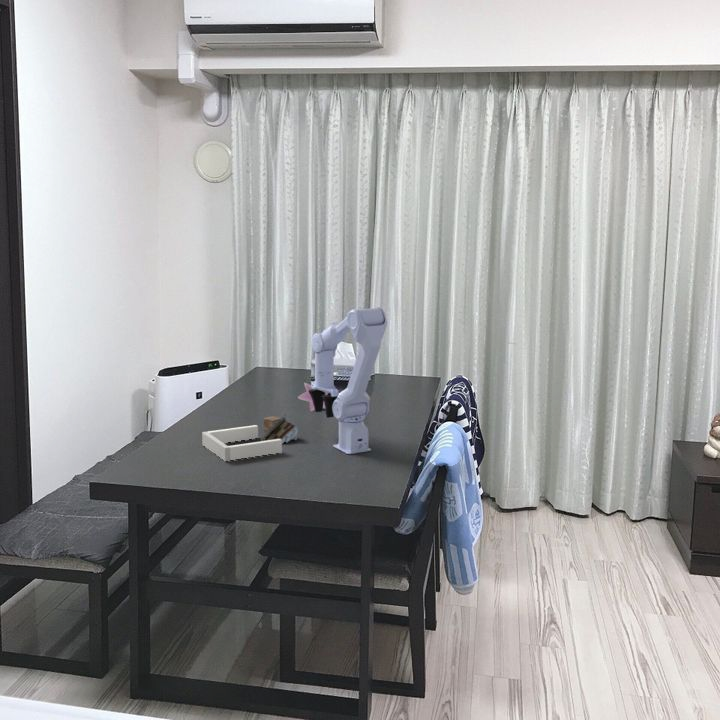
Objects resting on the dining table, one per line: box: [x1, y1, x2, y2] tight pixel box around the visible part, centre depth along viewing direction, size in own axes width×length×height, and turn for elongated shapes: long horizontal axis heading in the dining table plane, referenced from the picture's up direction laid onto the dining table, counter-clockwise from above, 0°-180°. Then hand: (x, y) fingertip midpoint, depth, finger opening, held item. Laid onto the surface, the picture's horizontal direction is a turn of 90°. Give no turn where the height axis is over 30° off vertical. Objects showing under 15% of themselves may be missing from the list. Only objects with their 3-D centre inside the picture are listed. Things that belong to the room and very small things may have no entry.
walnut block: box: [263, 415, 282, 432], centre depth 272 cm, size 4×4×4 cm
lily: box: [297, 382, 328, 412], centre depth 300 cm, size 12×12×10 cm
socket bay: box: [201, 424, 283, 462], centre depth 251 cm, size 19×18×4 cm
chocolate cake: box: [261, 414, 299, 444], centre depth 260 cm, size 10×7×12 cm
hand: (324, 414), depth 263 cm, fingers open, 7 cm apart
